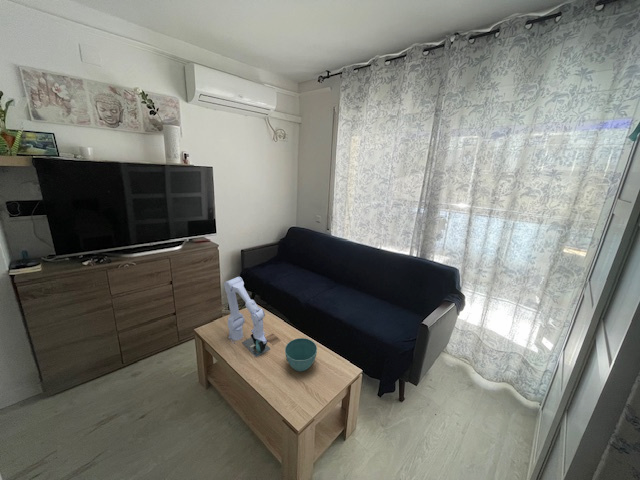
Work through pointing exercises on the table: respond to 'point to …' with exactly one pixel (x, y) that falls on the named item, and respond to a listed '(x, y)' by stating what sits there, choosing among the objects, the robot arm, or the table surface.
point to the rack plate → (251, 347)
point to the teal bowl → (301, 353)
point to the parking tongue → (273, 339)
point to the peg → (258, 346)
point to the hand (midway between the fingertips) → (259, 347)
